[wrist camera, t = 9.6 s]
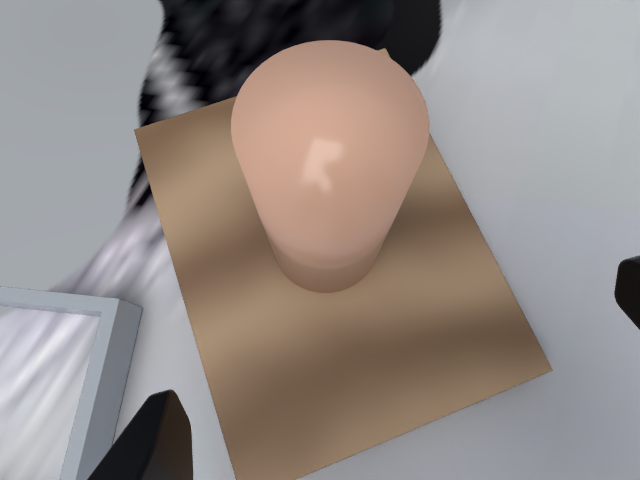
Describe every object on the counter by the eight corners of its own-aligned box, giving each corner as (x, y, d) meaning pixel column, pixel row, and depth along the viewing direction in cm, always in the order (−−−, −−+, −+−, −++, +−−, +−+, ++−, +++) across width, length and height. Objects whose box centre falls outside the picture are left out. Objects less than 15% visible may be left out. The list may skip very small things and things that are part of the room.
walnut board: (541, 370, 20) (553, 370, 19) (246, 495, 18) (242, 502, 17) (382, 60, 25) (385, 48, 24) (141, 139, 23) (133, 129, 22)
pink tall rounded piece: (372, 300, 20) (421, 227, 10) (263, 284, 20) (211, 198, 10) (383, 199, 21) (436, 52, 12) (282, 185, 21) (251, 29, 12)
